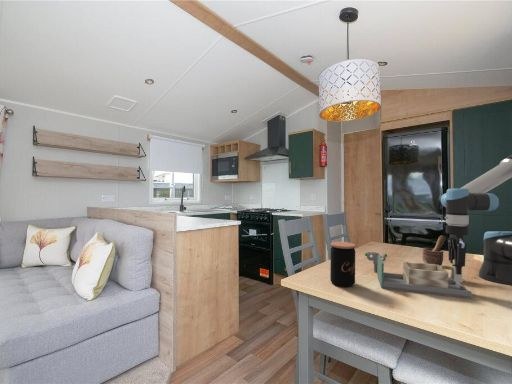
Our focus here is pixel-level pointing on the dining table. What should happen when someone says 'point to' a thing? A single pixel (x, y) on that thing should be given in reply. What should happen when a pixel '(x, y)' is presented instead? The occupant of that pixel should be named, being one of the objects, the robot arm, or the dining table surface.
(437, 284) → the crate
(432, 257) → the mortar and pestle
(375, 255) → the mechanical component
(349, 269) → the coffee jar
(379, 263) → the bay
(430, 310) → the dining table surface
